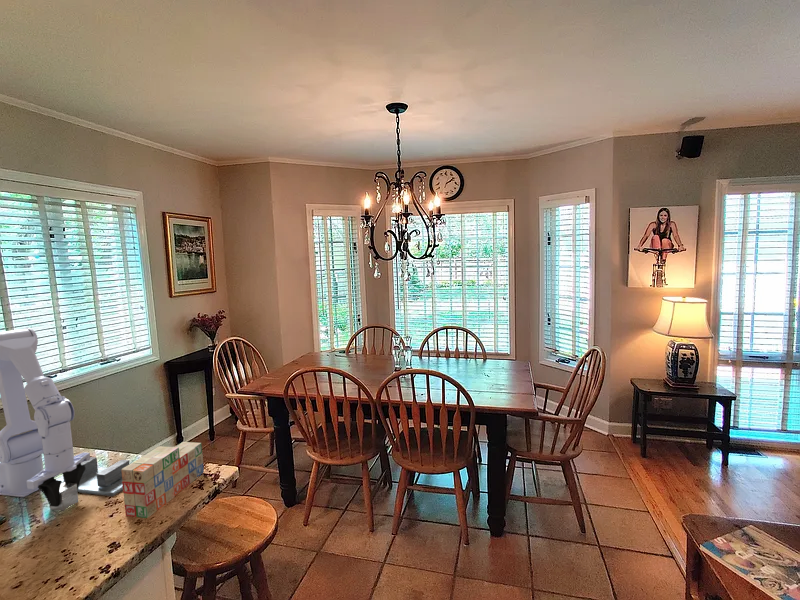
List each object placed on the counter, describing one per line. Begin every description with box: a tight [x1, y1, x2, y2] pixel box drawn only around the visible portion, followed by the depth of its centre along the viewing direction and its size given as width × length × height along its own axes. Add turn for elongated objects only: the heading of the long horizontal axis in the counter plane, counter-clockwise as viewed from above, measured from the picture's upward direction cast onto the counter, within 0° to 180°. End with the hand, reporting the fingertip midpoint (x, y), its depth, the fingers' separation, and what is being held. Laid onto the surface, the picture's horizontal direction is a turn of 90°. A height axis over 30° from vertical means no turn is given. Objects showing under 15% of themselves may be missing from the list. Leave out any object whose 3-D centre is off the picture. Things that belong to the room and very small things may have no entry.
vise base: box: [55, 456, 123, 497], centre depth 116 cm, size 20×11×5 cm, turn 79°
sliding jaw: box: [97, 459, 130, 487], centre depth 115 cm, size 2×8×4 cm, turn 170°
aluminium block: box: [49, 482, 79, 512], centre depth 105 cm, size 4×4×5 cm
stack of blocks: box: [122, 441, 205, 519], centre depth 110 cm, size 21×6×12 cm, turn 170°
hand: (63, 500), depth 105 cm, fingers closed on aluminium block, 4 cm apart
